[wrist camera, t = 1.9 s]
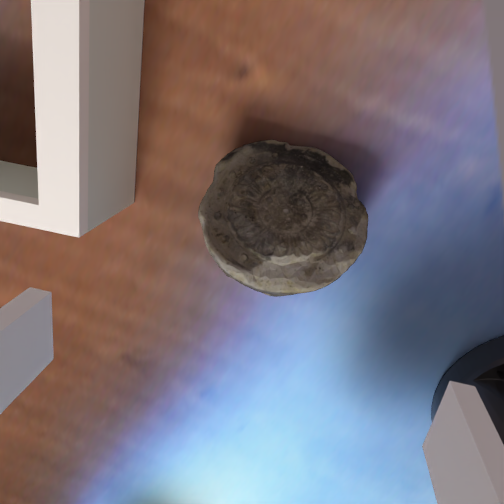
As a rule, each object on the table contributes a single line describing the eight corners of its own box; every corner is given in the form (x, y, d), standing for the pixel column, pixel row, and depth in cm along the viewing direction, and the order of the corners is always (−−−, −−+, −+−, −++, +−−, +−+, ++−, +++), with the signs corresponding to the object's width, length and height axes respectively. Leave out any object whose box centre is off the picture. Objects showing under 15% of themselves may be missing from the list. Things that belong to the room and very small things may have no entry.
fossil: (360, 122, 28) (382, 236, 21) (357, 222, 35) (374, 331, 28) (197, 140, 30) (171, 251, 23) (225, 232, 36) (211, 337, 30)
